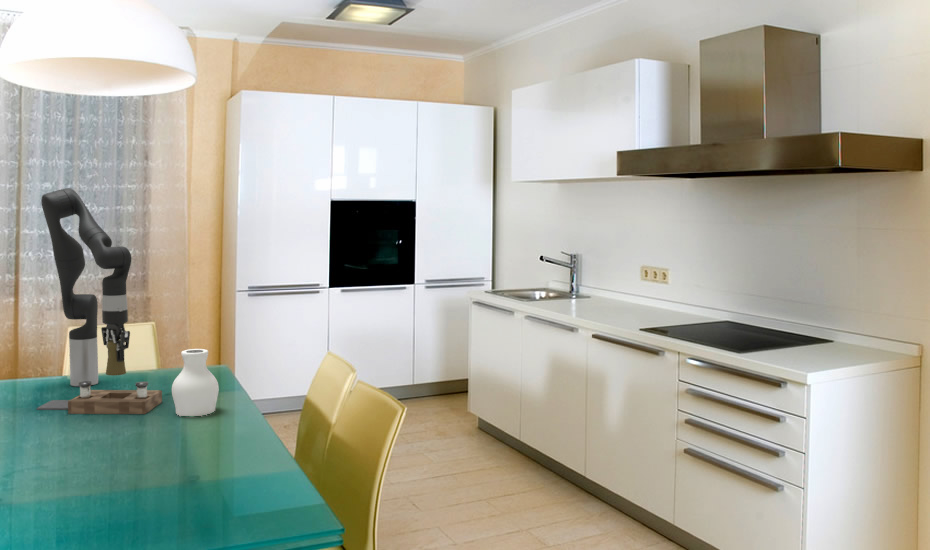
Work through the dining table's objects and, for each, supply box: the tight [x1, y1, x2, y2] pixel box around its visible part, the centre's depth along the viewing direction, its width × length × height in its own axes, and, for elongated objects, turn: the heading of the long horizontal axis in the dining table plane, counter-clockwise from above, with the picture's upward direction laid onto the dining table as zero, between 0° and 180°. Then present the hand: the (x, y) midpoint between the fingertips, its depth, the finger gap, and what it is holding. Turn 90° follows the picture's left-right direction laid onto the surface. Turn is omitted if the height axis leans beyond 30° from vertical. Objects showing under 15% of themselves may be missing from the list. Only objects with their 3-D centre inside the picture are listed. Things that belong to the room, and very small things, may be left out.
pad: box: [36, 399, 70, 411], centre depth 249 cm, size 10×10×1 cm
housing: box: [67, 389, 163, 415], centre depth 248 cm, size 15×24×4 cm, turn 93°
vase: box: [171, 348, 220, 417], centre depth 244 cm, size 14×14×20 cm
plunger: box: [78, 381, 93, 399], centre depth 245 cm, size 4×4×8 cm
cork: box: [105, 340, 127, 376], centre depth 247 cm, size 6×6×11 cm
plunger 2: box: [134, 381, 149, 399], centre depth 246 cm, size 4×4×8 cm
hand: (116, 360), depth 247 cm, fingers closed on cork, 5 cm apart
